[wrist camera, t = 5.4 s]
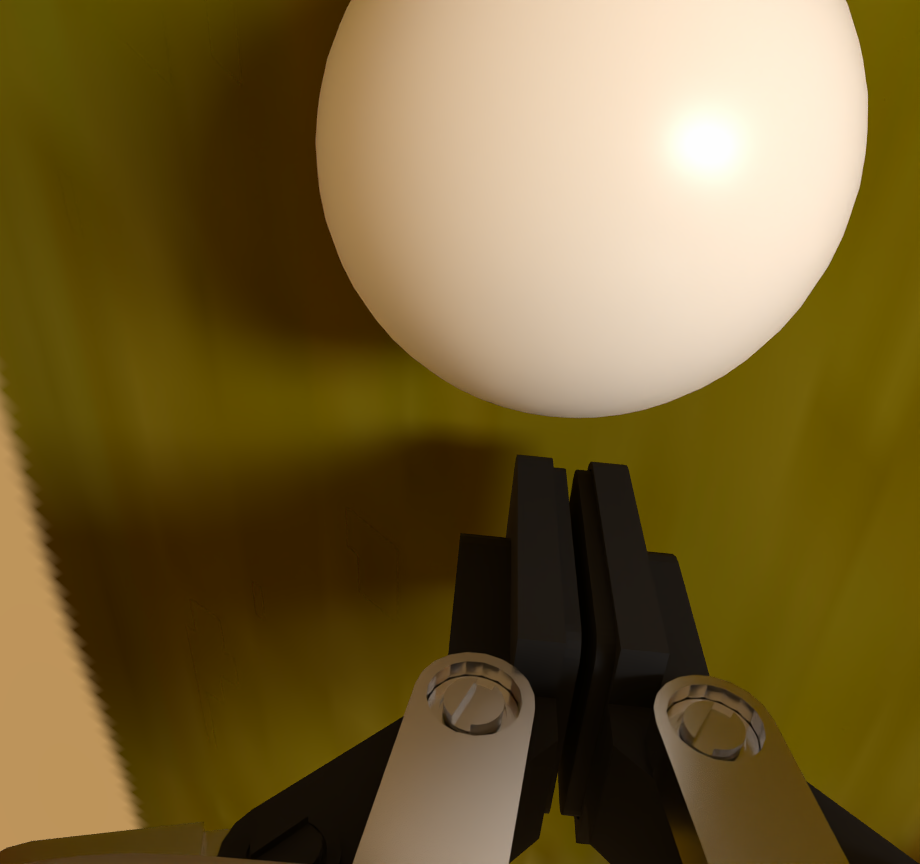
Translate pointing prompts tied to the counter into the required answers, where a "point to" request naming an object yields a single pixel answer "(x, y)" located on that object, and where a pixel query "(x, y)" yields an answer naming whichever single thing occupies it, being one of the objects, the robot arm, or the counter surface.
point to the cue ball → (589, 185)
